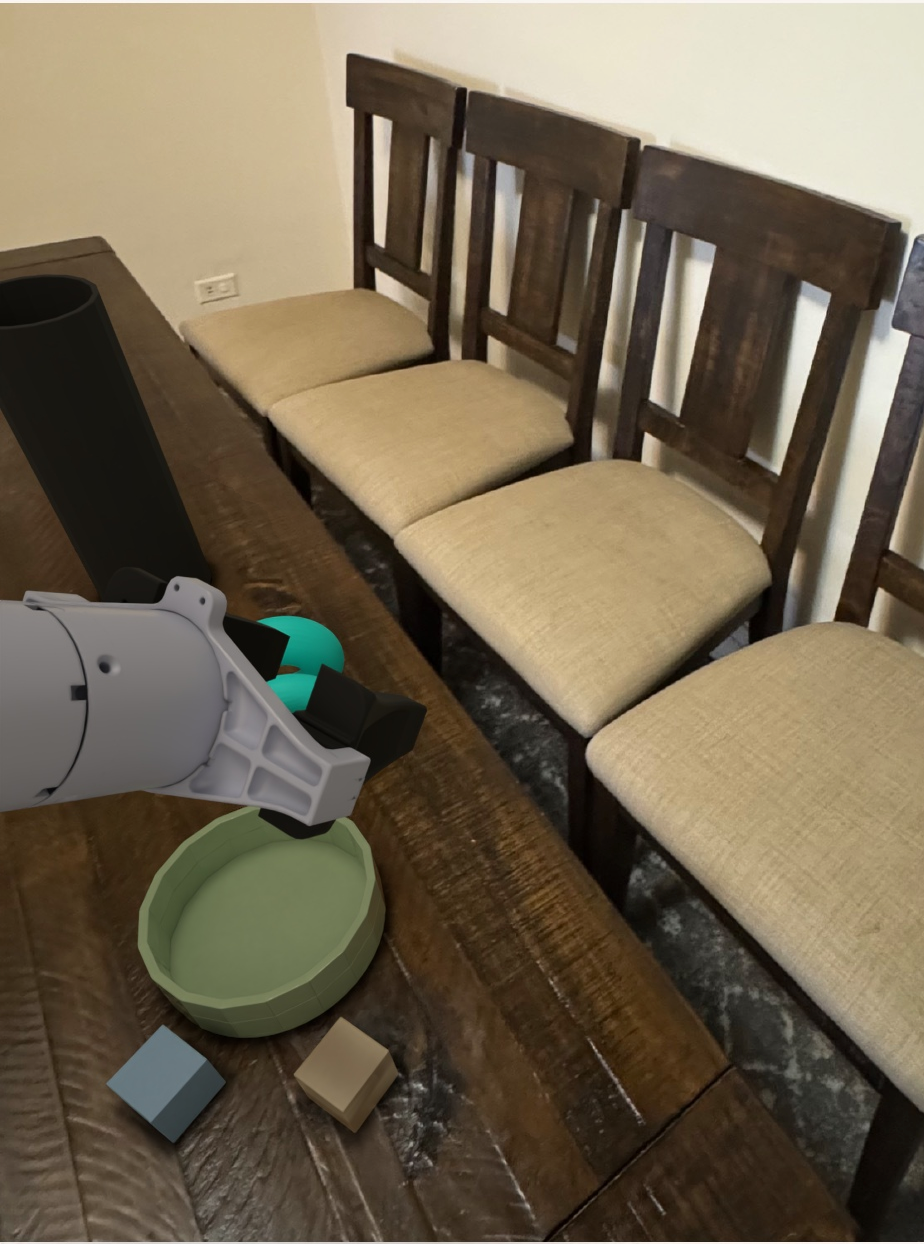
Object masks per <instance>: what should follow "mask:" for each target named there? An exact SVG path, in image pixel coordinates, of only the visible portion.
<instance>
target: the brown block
mask: <svg viewBox="0 0 924 1244" xmlns="http://www.w3.org/2000/svg"><path fill="white" fill-rule="evenodd" d="M399 1074H400V1073H399V1071H398V1069H397V1067H396V1064H395V1062H394V1059H393V1057H392V1055H391V1052H390V1050H389V1049H387V1048H386V1047H385V1046H383V1044H381V1043H379V1042H378V1041H376V1040H375V1039H374V1038H372V1037H370V1036H369V1035H368V1034H366V1033H365V1032H364V1031H363V1030H361V1029H359V1028H358V1027H356V1026H355V1025H354V1024H353V1023H351V1022H349V1021H348V1020H347V1019H346V1018H344V1017H343V1016H339V1018H338V1019H337V1020H336V1021H335V1022H334V1024H333V1025H332V1026H331V1028H329V1030H328V1032H326V1033H325V1035H324V1036H323V1037H322V1038H321V1040H320V1041H319V1042H318V1044H317V1045H316V1046H314V1049H313V1050H312V1051H311V1052H310V1053H309V1054H308V1055H307V1057H306V1058H305V1059H304V1061H303V1062H302V1063H301V1064H300V1065H299V1067H298V1068H297V1069H296V1071H295V1072H294V1073H293V1077H294V1079H295V1080H296V1081H297V1083H298V1084H299V1086H300V1087H301V1089H302V1090H303V1092H304V1093H305V1095H306V1097H307V1098H308V1099H310V1100H311V1101H312V1102H313V1103H315V1104H316V1105H318V1107H319V1108H321V1109H322V1110H323V1111H325V1112H326V1113H328V1114H329V1115H330V1116H332V1117H333V1118H334V1119H335V1120H337V1121H338V1122H340V1124H342V1125H343V1126H345V1127H346V1128H347V1129H349V1131H352V1133H354V1134H356V1133H357V1132H358V1131H359V1130H360V1128H361V1126H362V1125H363V1124H364V1122H366V1120H367V1118H368V1117H369V1116H370V1114H371V1113H372V1112H373V1110H374V1108H376V1106H377V1105H378V1103H379V1102H380V1101H381V1099H382V1098H383V1096H384V1095H385V1094H386V1092H387V1091H388V1089H389V1088H390V1087H391V1085H392V1084H393V1082H394V1081H395V1080H396V1079H397V1077H398V1076H399Z"/></svg>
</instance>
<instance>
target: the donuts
mask: <svg viewBox="0 0 924 1244" xmlns="http://www.w3.org/2000/svg"><path fill="white" fill-rule="evenodd" d="M255 621H256V622H259V623H262V624H265V625H268V626H270V627H273V628H275V629H277V630H279V631H281V632H283V633H285V634H287V635H289V636H290V639H289V642H288V645H287V648H286V650H285V653H284V656H283V659H282V662H281V665H280V667H281V666H282V667H283V666H292V667H296V668H298V669H299V670H297V671H295V672H292V673H284V674H277V676H276V679H273V680H271V681H268V682H266V683H267V684H268V685H269V686H270V687H271V689H272V690H273V691H274V692H275V694H276V695H277V696H278V697H279V698H280V700H281V701H282V702H283V703H284V705H285V706H286V707H287V708H288V709H289V711H290V712H291V713H292V714H294V712H295V711H298V710H305V709H306V707H307V704H308V701H309V698H310V695H311V692H312V690H313V687H314V684H315V681H316V678H317V675H318V673H319V670H320V667H321V664H322V663H323V664H325V665H326V666H328V667H330V668H332V669H334V670H336V671H338V672H340V673H342V674H343V670H344V666H345V654H344V650H343V646H342V644H341V642H340V641H339V639H338V638H337V636H336V635H335V634H334V633H333V632H332V630H330V629H329V628H327V627H326V626H324V624H321V623H320V622H317V621H315V620H313V619H309V618H306V617H302V616H296V615H295V616H293V615H279V616H278V615H277V616H271V617H265V618H263V619H259V620H255Z"/></svg>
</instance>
